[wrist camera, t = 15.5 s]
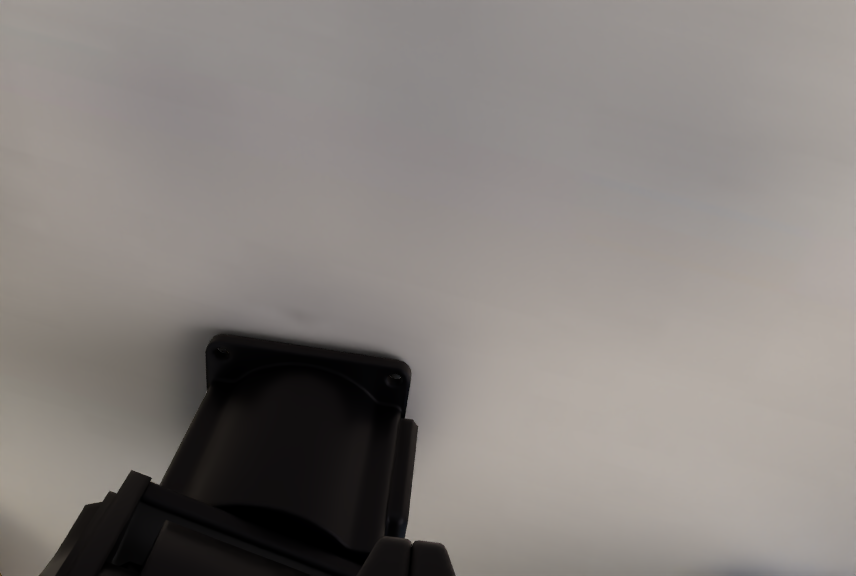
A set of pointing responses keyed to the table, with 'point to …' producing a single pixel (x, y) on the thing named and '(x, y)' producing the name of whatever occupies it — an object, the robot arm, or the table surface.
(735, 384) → the table surface
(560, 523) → the table surface
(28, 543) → the table surface
